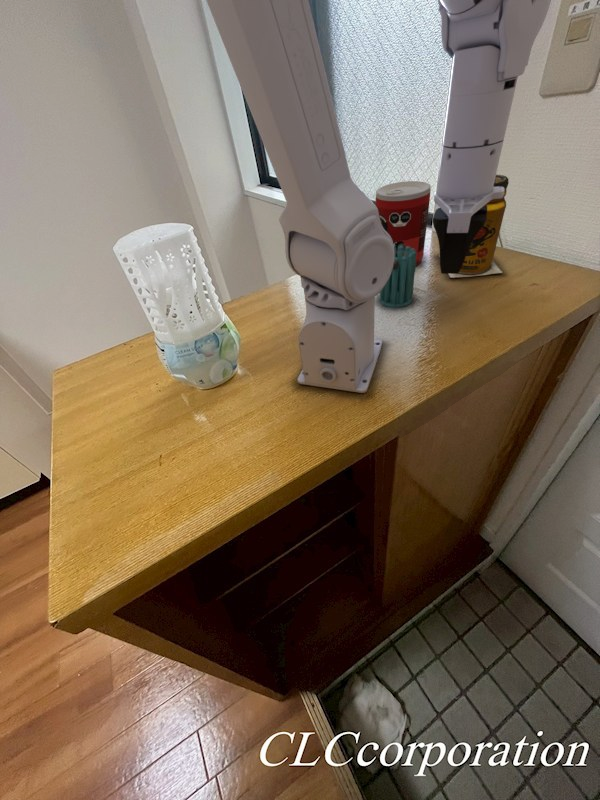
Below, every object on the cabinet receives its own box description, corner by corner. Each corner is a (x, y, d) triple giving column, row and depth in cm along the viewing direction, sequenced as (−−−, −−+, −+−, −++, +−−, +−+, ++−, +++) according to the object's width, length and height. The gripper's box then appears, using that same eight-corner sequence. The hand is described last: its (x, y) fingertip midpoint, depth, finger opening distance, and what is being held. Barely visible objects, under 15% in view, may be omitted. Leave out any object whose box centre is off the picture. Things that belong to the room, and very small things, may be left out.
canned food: (366, 261, 60) (365, 190, 53) (403, 248, 62) (408, 178, 54) (392, 275, 55) (396, 199, 47) (432, 261, 57) (442, 185, 49)
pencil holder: (408, 312, 47) (375, 310, 48) (415, 289, 51) (383, 288, 52) (413, 262, 42) (376, 261, 43) (420, 241, 46) (385, 242, 48)
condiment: (450, 279, 52) (466, 189, 43) (438, 256, 58) (450, 173, 49) (502, 274, 50) (528, 180, 42) (484, 251, 56) (504, 166, 48)
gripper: (522, 154, 29) (484, 300, 38) (513, 125, 38) (484, 248, 47) (433, 161, 31) (418, 297, 41) (445, 132, 41) (430, 248, 50)
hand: (450, 271), depth 44 cm, fingers closed
